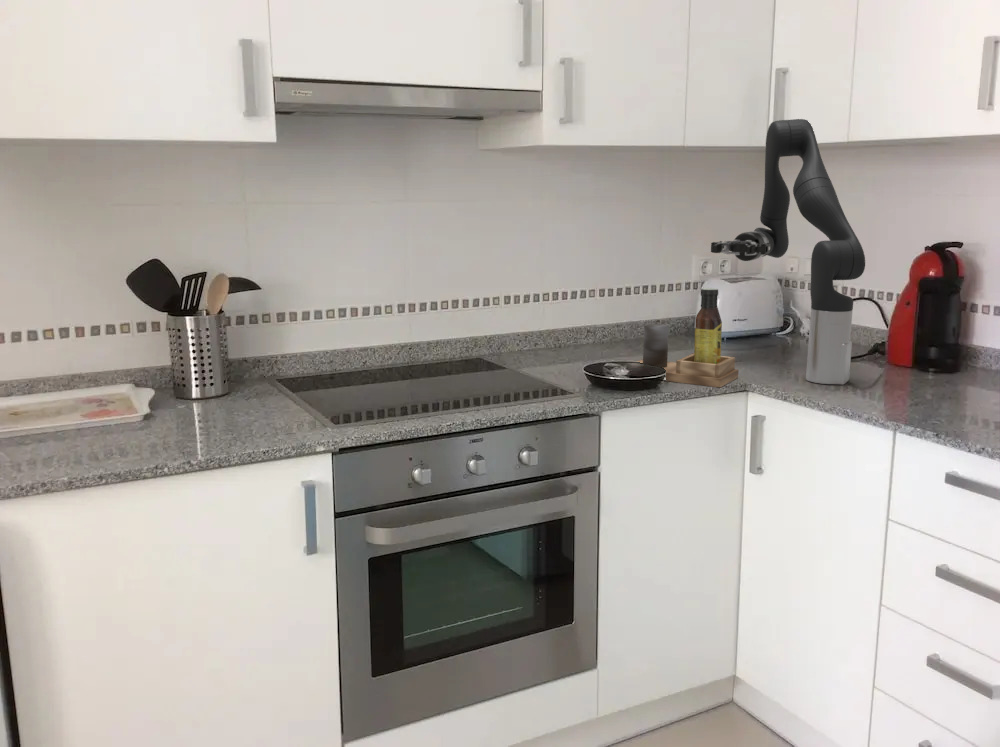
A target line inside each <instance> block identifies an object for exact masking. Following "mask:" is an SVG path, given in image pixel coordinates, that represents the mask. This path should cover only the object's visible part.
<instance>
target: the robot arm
mask: <svg viewBox="0 0 1000 747" xmlns="http://www.w3.org/2000/svg"><path fill="white" fill-rule="evenodd" d="M808 121H809V120H808V119H803V118H796V119H779V120H774V121H772V122H771V123H770V124H769V126H768V128H767V132H766V137H765V156H764V158H765V160H764V192H763V199H762V206H761V209H760V217H759V219H760V223H761V224H762V225H763V226H764V227H756V228H755V229H754V230H753V231H746V232H741V233H740V234H738V235H737V236H736V237H735V238H734V239H733V240H724V241H722V240H720V241H713V242H711V243H710V253H713V254H720V253H721V254H722V253H723V255H733V256H735V257H736V258H737V260H740V261H743V262H750V261H754V260H758V259H760V258H764V257H766V256H767V257H772V258H776V259H778V258H782V257H783V256H784V255H785V254H786V253H787V252H788V248H789V245H790V244H789V242H790V241H789V240H790V239H789V233H788V222H787V220H788V213H789V208H790V202H791V195H790V190H789V188H788V186H787V183H786V181H785V180H784V177H783V176H782V174H781V171H780V166H779V165H780V158H783V157H800V158H801V161H802V166H801V168H800V170H799V173H798V174H797V176H796V179H795V180H794V183H793V186H792V194H793V197H794V201H795V203H796V206H797V209H798V211H799V212H800V214H801V216H802V217H803V218H804V219H805V220H806V221H807V222H808V223H810V224H811V225H812V226H814V227H815V228H816V229H817V230H819V231H820V232H821V233H823V234H824V235H825V236H826V238H828V240H821V241H818V242H816V244H815V245H814V247H813V249H812V253H811V259H810V292H809V293H810V301H811V302H810V316H809V317H810V318H809V319H810V320H809V330H808V333H809V334H808V344H807V345H808V346H807V359H806V371H805V374H806V375H805V380H806V381H808V382H811V383H814V384H815V383H816V384H822V385H845V384H846V383H848V382H849V380H850V371H851V370H850V368H851V359H852V346H853V342H852V340H851V333H852V323H853V322H852V321H853V310H854V309H853V308H854V299H853V298H852V297H850V296H849V295H847V294H843V293H840V292H839V291H837V290H836V289H835V288H834V281H851V280H857V279H858V278H860V277H862V275H863V274H864V272H865V268H866V255H865V251H864V249H863V246H862V244H861V242H860V240H859V239H858V237H857V235H856V233H855V232H854V230H853V228H852V227H851V224H850V223H849V221H848V219H847V217H846V215H845V213H844V210H843V208H842V206H841V204H840V201H839V198H838V195H837V192H836V189H835V187H834V185H833V182H832V180H831V178H830V176H829V174H828V172H827V169H826V166H825V164H824V162H823V159H822V156H821V153H820V148H819V145H818V141H817V137H816V134H815V130H814V128H813V126H811V125H812V124H811V122H810V121H809V122H810V123H809V122H808ZM813 130H814V131H813Z"/></svg>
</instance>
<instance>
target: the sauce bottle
mask: <svg viewBox="0 0 1000 747" xmlns="http://www.w3.org/2000/svg"><path fill="white" fill-rule="evenodd" d="M718 296H719V289H718V288H712V287H710V288H709V287H707V288H704V287H703V288H701V289H700V297H701V299H700V301H701V302H700V309H699V310H698V313H697V314H696V316H695V326H694V327H695V328H694V348H693V350H694V351H693V353H694V362H700V363H710V364H718V363H720V359H721V356H722V354H721V353H722V333H723V332H722V330H723V329H722V328H723V321H722V319H721V315H720V311H719V308H718Z"/></svg>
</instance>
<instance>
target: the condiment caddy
mask: <svg viewBox="0 0 1000 747" xmlns="http://www.w3.org/2000/svg"><path fill="white" fill-rule="evenodd" d="M669 327H670V326H669V325H667V324H663V323H648V324H643V342H642V343H643V347H642V359H639V360H637V361H636V362H640V363H643V364H648V365H654V366H658V367H662V368H664V369H665V370H666V380H667V381H666V382H672V383H679V384H681V383H682V384H687V385H688V384H689V385H698V386H704V387H705V386H706V387H715V388H722V387H723V386H726V385H727V384H729V383H732V382H733V381H735V380H736V379H738V378H739V369H738V368H737V369H736V357H734V356H727V355H725V356H724V355H721V359H720V363H718V364H710V363H700V362H694V352H693V353H692V354H689V355H686V356H685V357H682V358H680V359H677V360H676V362H674V361H668V357H669V356H668V355H669V353H668V352H669Z"/></svg>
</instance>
